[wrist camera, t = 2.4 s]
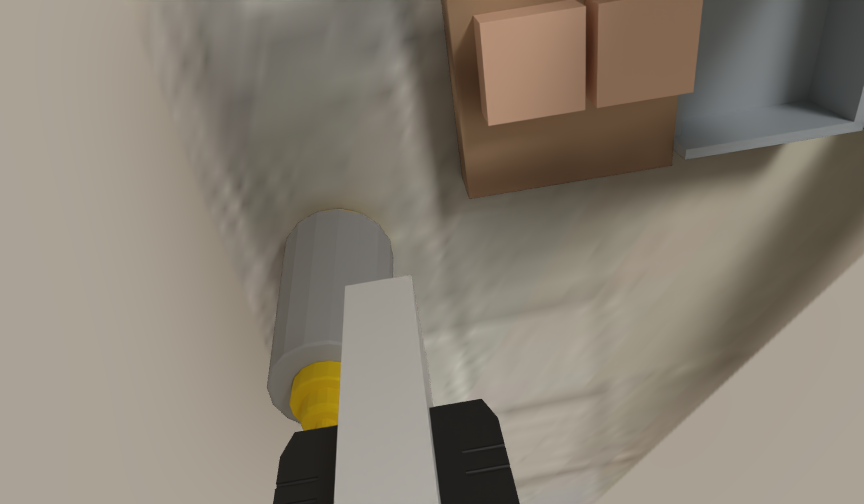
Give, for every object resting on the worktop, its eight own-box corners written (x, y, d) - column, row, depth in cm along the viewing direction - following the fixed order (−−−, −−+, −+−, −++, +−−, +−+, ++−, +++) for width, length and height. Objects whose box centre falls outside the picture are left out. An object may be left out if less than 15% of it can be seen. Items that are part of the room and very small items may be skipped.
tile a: (473, 15, 29) (479, 23, 27) (573, -1, 29) (585, 6, 27) (482, 113, 32) (488, 126, 30) (573, 97, 32) (585, 109, 30)
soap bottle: (340, 306, 41) (325, 551, 26) (263, 244, 38) (194, 482, 23) (414, 248, 39) (444, 476, 24) (339, 177, 36) (320, 390, 21)
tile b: (585, -3, 29) (598, 4, 27) (684, -20, 29) (704, -14, 27) (584, 96, 32) (596, 108, 30) (675, 81, 32) (693, 92, 30)
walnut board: (429, -100, 29) (435, -98, 26) (670, -138, 29) (700, -141, 26) (462, 177, 37) (469, 198, 34) (650, 146, 37) (671, 165, 34)
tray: (668, -115, 29) (713, -115, 26) (864, -146, 29) (938, -151, 26) (651, 131, 36) (685, 159, 32) (810, 105, 36) (862, 130, 33)
